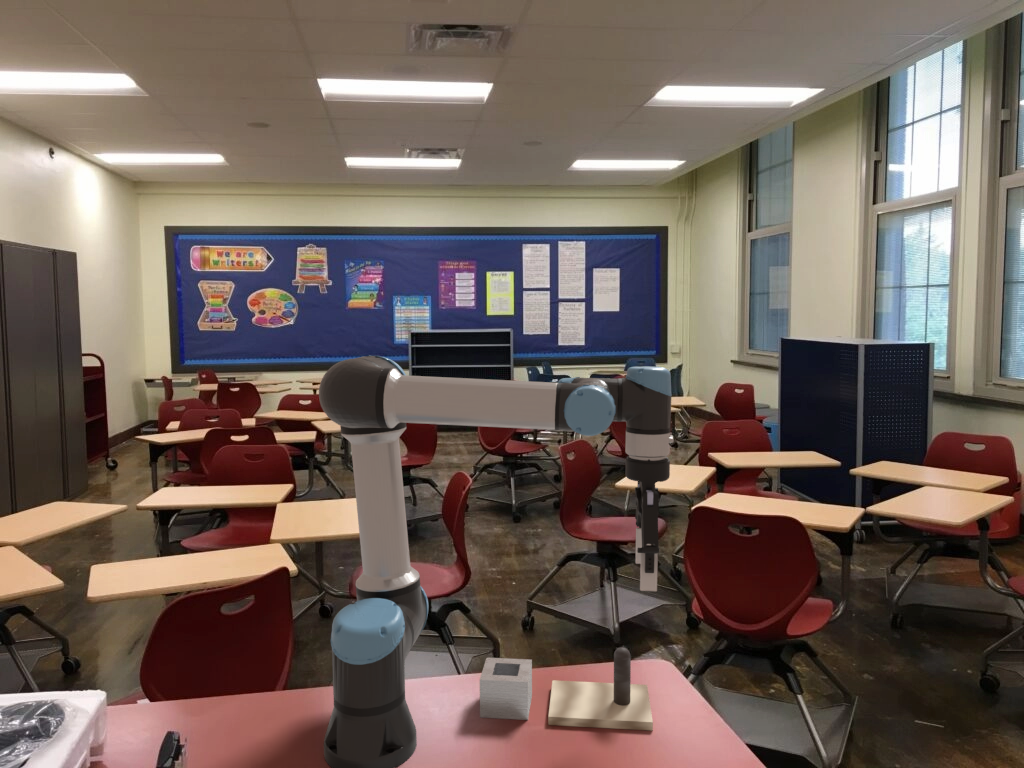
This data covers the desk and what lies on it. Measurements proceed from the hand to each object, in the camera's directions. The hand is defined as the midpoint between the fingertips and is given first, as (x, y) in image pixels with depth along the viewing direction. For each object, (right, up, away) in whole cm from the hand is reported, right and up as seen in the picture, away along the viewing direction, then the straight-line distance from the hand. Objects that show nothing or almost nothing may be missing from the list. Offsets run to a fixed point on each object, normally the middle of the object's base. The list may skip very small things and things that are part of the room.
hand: (645, 576), depth 126 cm
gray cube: (-24, -26, +6) cm, 36 cm away
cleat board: (-7, -26, +6) cm, 27 cm away
